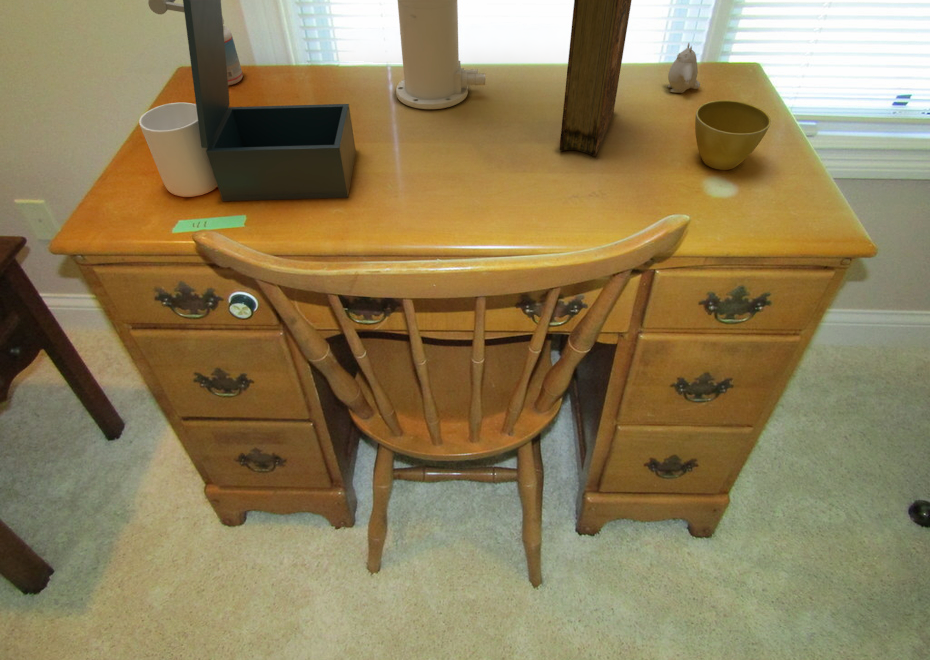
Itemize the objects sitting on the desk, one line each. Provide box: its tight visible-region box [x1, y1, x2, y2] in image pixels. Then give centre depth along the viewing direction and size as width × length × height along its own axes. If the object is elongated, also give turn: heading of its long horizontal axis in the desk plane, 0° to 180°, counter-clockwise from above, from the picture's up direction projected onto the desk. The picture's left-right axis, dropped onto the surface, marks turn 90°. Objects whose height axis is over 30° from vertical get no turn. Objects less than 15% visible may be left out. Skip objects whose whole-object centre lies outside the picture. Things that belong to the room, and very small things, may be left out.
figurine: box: [666, 42, 701, 94], centre depth 108 cm, size 8×6×8 cm
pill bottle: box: [222, 15, 244, 86], centre depth 112 cm, size 6×6×11 cm
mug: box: [138, 101, 218, 198], centre depth 90 cm, size 12×8×10 cm
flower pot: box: [694, 99, 772, 171], centre depth 92 cm, size 10×10×7 cm
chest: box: [206, 103, 357, 202], centre depth 90 cm, size 18×13×8 cm
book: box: [559, 0, 632, 157], centre depth 92 cm, size 16×6×25 cm, turn 160°
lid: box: [148, 0, 231, 148], centre depth 80 cm, size 18×13×6 cm
